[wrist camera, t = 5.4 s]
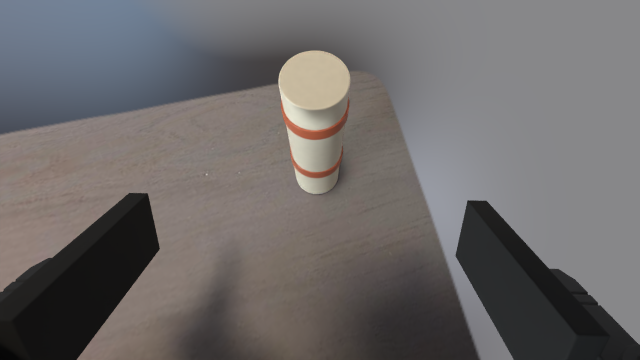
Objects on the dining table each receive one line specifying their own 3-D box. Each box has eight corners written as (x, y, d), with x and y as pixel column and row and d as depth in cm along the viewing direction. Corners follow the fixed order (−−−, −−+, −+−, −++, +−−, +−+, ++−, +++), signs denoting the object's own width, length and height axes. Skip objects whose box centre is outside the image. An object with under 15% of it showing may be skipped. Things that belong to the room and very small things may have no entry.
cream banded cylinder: (343, 158, 30) (358, 54, 17) (334, 199, 28) (345, 117, 16) (300, 150, 30) (286, 43, 18) (290, 190, 29) (267, 104, 16)
